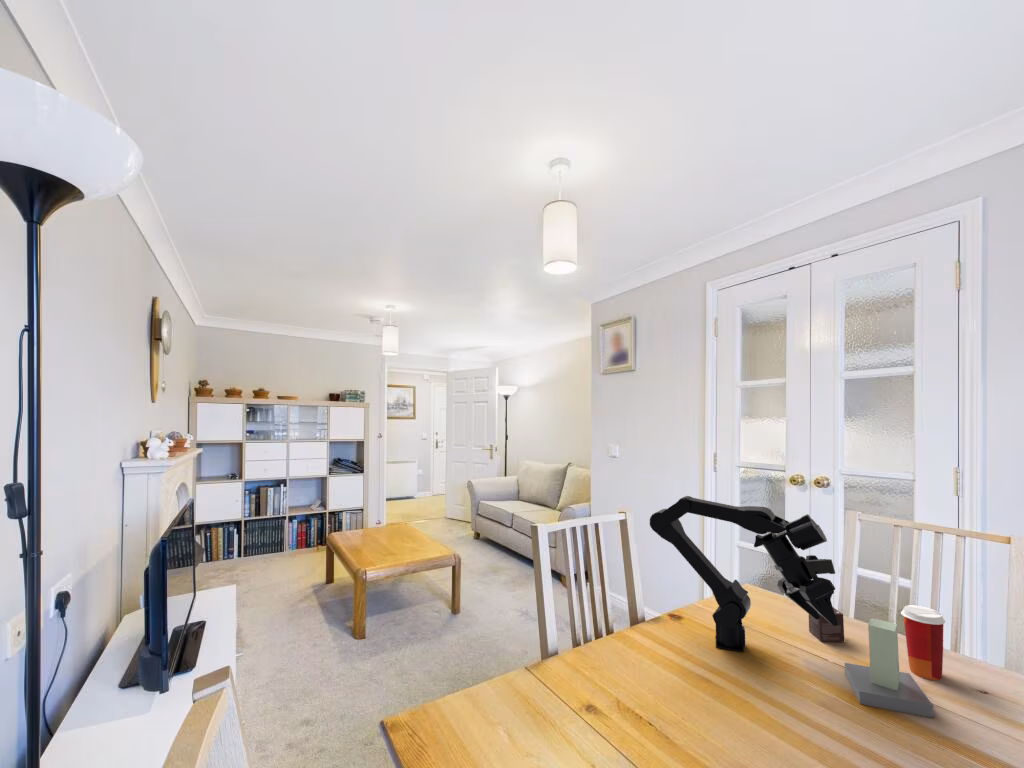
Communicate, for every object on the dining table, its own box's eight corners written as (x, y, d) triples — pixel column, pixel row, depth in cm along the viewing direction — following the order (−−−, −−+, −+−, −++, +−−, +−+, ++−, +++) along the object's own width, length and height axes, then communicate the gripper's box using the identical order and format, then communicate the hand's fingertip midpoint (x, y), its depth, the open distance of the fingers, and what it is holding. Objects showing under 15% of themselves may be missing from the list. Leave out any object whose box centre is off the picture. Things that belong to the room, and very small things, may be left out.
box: (832, 632, 130) (831, 604, 130) (845, 643, 124) (844, 614, 124) (808, 631, 130) (807, 604, 131) (820, 642, 124) (819, 613, 125)
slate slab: (859, 703, 98) (859, 691, 98) (844, 673, 109) (844, 662, 110) (933, 717, 94) (932, 704, 94) (909, 685, 105) (909, 673, 105)
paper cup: (937, 667, 112) (934, 606, 112) (955, 685, 104) (952, 620, 105) (897, 662, 114) (894, 602, 115) (912, 679, 107) (909, 615, 108)
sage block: (870, 682, 102) (868, 624, 102) (873, 673, 105) (870, 618, 105) (897, 691, 99) (895, 631, 99) (899, 681, 102) (897, 624, 102)
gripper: (832, 542, 108) (880, 612, 102) (799, 542, 125) (838, 601, 120) (788, 564, 108) (833, 635, 102) (761, 561, 125) (798, 621, 120)
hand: (826, 621), depth 111 cm, fingers open, 9 cm apart
